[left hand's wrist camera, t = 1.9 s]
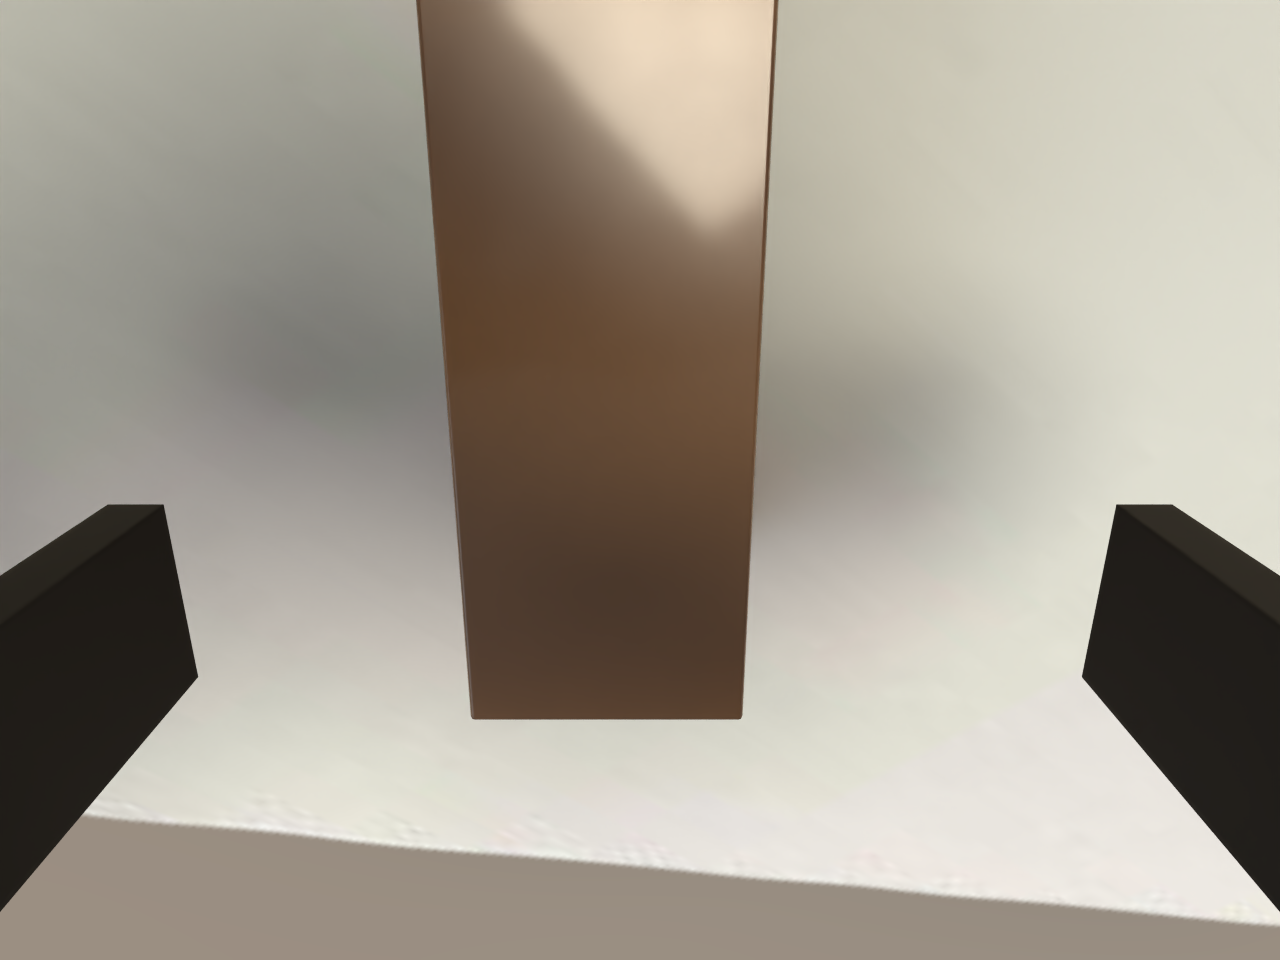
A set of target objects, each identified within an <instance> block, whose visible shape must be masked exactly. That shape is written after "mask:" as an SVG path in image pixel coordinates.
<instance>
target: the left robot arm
mask: <svg viewBox="0 0 1280 960" xmlns="http://www.w3.org/2000/svg"><path fill="white" fill-rule="evenodd" d="M197 678H198V674H197V669H196V664H195V659H194V654H193V649H192V644H191V639H190V634H189V629H188V624H187V619H186V614H185V609H184V604H183V599H182V594H181V589H180V584H179V579H178V574H177V569H176V564H175V559H174V554H173V549H172V544H171V539H170V534H169V529H168V524H167V519H166V514H165V509H164V505H107V506H105V507H103V508H102V509H100V510H99V511H97V512H96V513H94V514H93V515H91V516H90V517H88V518H87V519H85V520H84V521H82V522H81V523H79V524H78V525H76V526H75V527H73V528H72V529H70V530H69V531H67V532H66V533H64V534H63V535H61V536H60V537H58V538H57V539H55V540H54V541H52V542H51V543H49V544H48V545H46V546H44V547H43V548H41V549H40V550H38V551H37V552H35V553H34V554H32V555H31V556H29V557H28V558H26V559H25V560H23V561H22V562H20V563H19V564H17V565H16V566H14V567H13V568H11V569H10V570H8V571H7V572H5V573H4V574H2V575H1V576H0V911H1V910H2V909H3V908H4V907H5V905H6V904H7V903H8V902H9V901H10V899H11V898H12V897H13V896H14V895H15V893H16V892H17V891H18V890H19V889H20V888H21V886H22V885H23V884H24V883H25V882H26V880H27V879H28V878H29V877H30V876H31V875H32V873H33V872H34V871H35V870H36V869H37V867H38V866H39V865H40V864H41V863H42V861H43V860H44V859H45V858H46V857H47V855H48V854H49V853H50V852H51V851H52V850H53V848H54V847H55V846H56V845H57V844H58V843H59V841H60V840H61V839H62V838H63V837H64V835H65V834H66V833H67V832H68V831H69V829H70V828H71V827H72V826H73V825H74V824H75V822H76V821H77V820H78V819H79V818H80V816H81V815H82V814H83V813H84V812H85V810H86V809H87V808H88V807H89V806H90V805H91V803H92V802H93V801H94V800H95V799H96V797H97V796H98V795H99V794H100V793H101V792H102V790H103V789H104V788H105V787H106V786H107V784H108V783H109V782H110V781H111V780H112V778H113V777H114V776H115V775H116V774H117V773H118V771H119V770H120V769H121V768H122V767H123V765H124V764H125V763H126V762H127V761H128V759H129V758H130V757H131V756H132V755H133V754H134V752H135V751H136V750H137V749H138V748H139V746H140V745H141V744H142V743H143V742H144V741H145V739H146V738H147V737H148V736H149V735H150V733H151V732H152V731H153V730H154V729H155V727H156V726H157V725H158V724H159V723H160V722H161V720H162V719H163V718H164V717H165V716H166V714H167V713H168V712H169V711H170V710H171V709H172V707H173V706H174V705H175V704H176V703H177V701H178V700H179V699H180V698H181V697H182V695H183V694H184V693H185V692H186V691H187V690H188V688H189V687H190V686H191V685H192V684H193V682H194V681H195V680H196V679H197ZM1082 678H1083V679H1084V680H1085V681H1086V682H1087V684H1088V685H1089V686H1090V687H1091V688H1092V690H1093V691H1094V692H1095V693H1096V694H1097V695H1098V697H1099V698H1100V699H1101V700H1102V701H1103V703H1104V704H1105V705H1106V706H1107V707H1108V709H1109V710H1110V711H1111V712H1112V713H1113V714H1114V716H1115V717H1116V718H1117V719H1118V720H1119V722H1120V723H1121V724H1122V725H1123V726H1124V727H1125V729H1126V730H1127V731H1128V732H1129V733H1130V735H1131V736H1132V737H1133V738H1134V739H1135V741H1136V742H1137V743H1138V744H1139V745H1140V746H1141V748H1142V749H1143V750H1144V751H1145V752H1146V754H1147V755H1148V756H1149V757H1150V758H1151V759H1152V761H1153V762H1154V763H1155V764H1156V765H1157V767H1158V768H1159V769H1160V770H1161V771H1162V773H1163V774H1164V775H1165V776H1166V777H1167V778H1168V780H1169V781H1170V782H1171V783H1172V784H1173V786H1174V787H1175V788H1176V789H1177V790H1178V792H1179V793H1180V794H1181V795H1182V796H1183V797H1184V799H1185V800H1186V801H1187V802H1188V803H1189V805H1190V806H1191V807H1192V808H1193V809H1194V810H1195V812H1196V813H1197V814H1198V815H1199V816H1200V818H1201V819H1202V820H1203V821H1204V822H1205V824H1206V825H1207V826H1208V827H1209V828H1210V829H1211V831H1212V832H1213V833H1214V834H1215V835H1216V837H1217V838H1218V839H1219V840H1220V841H1221V843H1222V844H1223V845H1224V846H1225V847H1226V848H1227V850H1228V851H1229V852H1230V853H1231V854H1232V856H1233V857H1234V858H1235V859H1236V860H1237V861H1238V863H1239V864H1240V865H1241V866H1242V867H1243V869H1244V870H1245V871H1246V872H1247V873H1248V875H1249V876H1250V877H1251V878H1252V879H1253V880H1254V882H1255V883H1256V884H1257V885H1258V886H1259V888H1260V889H1261V890H1262V891H1263V892H1264V894H1265V895H1266V896H1267V897H1268V898H1269V899H1270V901H1271V902H1272V903H1273V904H1274V905H1275V907H1276V908H1277V909H1278V910H1279V911H1280V576H1279V575H1278V574H1276V573H1275V572H1273V571H1272V570H1270V569H1269V568H1267V567H1266V566H1264V565H1263V564H1261V563H1260V562H1258V561H1257V560H1255V559H1254V558H1252V557H1251V556H1249V555H1248V554H1246V553H1245V552H1243V551H1242V550H1240V549H1239V548H1237V547H1236V546H1234V545H1232V544H1231V543H1229V542H1228V541H1226V540H1225V539H1223V538H1222V537H1220V536H1219V535H1217V534H1216V533H1214V532H1213V531H1211V530H1210V529H1208V528H1207V527H1205V526H1204V525H1202V524H1201V523H1199V522H1198V521H1196V520H1195V519H1193V518H1192V517H1190V516H1189V515H1187V514H1186V513H1184V512H1183V511H1181V510H1180V509H1178V508H1177V507H1175V506H1173V505H1116V509H1115V514H1114V519H1113V524H1112V529H1111V534H1110V539H1109V544H1108V549H1107V554H1106V559H1105V564H1104V569H1103V574H1102V579H1101V584H1100V589H1099V594H1098V599H1097V604H1096V609H1095V614H1094V619H1093V624H1092V629H1091V634H1090V639H1089V644H1088V649H1087V654H1086V659H1085V664H1084V669H1083V674H1082Z"/></svg>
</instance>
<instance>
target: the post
mask: <svg viewBox="0 0 1280 960" xmlns="http://www.w3.org/2000/svg"><path fill="white" fill-rule="evenodd" d="M416 5H417V18H418V31H419V44H420V57H421V70H422V83H423V96H424V109H425V122H426V136H427V149H428V162H429V175H430V188H431V201H432V214H433V227H434V240H435V253H436V266H437V279H438V292H439V305H440V318H441V331H442V344H443V357H444V371H445V384H446V397H447V410H448V423H449V436H450V449H451V462H452V475H453V488H454V501H455V514H456V527H457V540H458V553H459V566H460V579H461V593H462V606H463V619H464V632H465V645H466V658H467V671H468V684H469V697H470V710H471V717H472V719H741V717H742V713H743V693H744V673H745V654H746V634H747V614H748V594H749V574H750V554H751V534H752V515H753V495H754V475H755V455H756V435H757V415H758V396H759V376H760V356H761V336H762V316H763V296H764V277H765V257H766V237H767V217H768V197H769V177H770V158H771V138H772V118H773V98H774V78H775V58H776V38H777V19H778V0H416Z"/></svg>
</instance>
